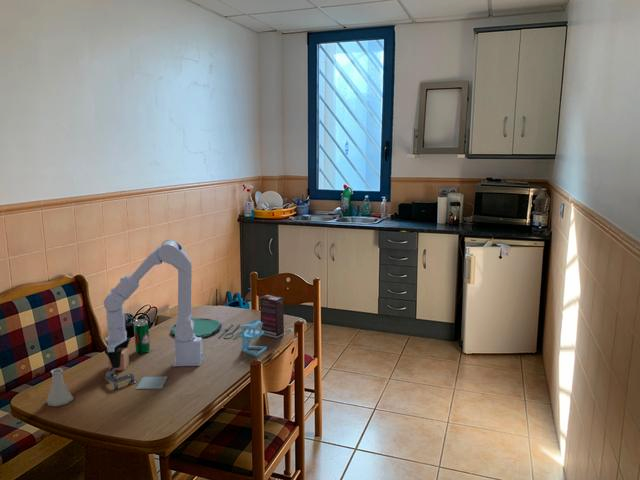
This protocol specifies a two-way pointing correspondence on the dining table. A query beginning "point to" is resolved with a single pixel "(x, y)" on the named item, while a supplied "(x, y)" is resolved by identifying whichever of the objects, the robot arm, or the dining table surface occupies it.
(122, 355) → the pink block with hole
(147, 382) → the mat
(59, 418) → the dining table surface
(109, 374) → the bent jointed bar linkage
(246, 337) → the chair
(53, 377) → the flask
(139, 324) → the soda can
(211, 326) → the cutlery set
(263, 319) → the supplement box
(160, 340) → the dining table surface
